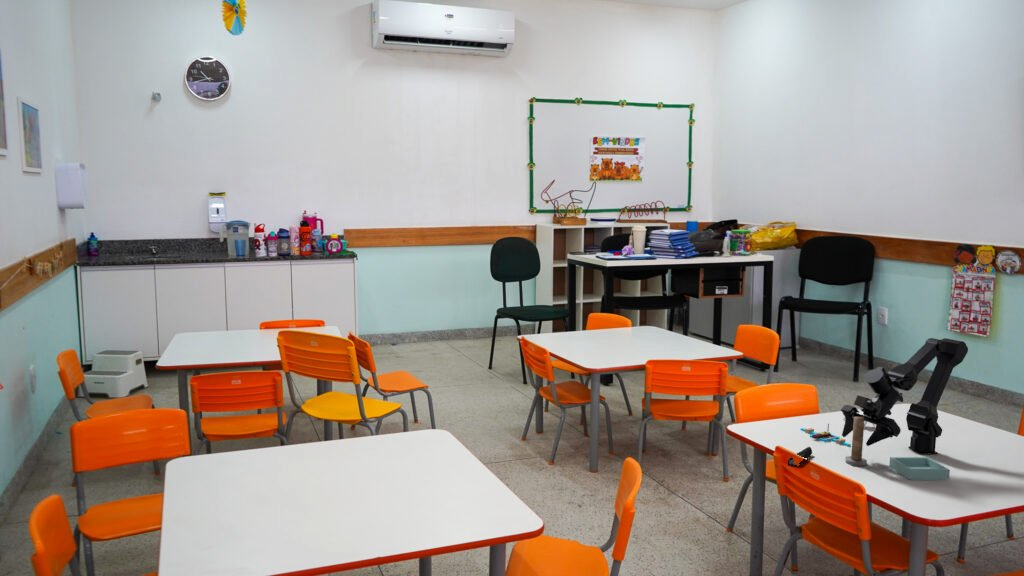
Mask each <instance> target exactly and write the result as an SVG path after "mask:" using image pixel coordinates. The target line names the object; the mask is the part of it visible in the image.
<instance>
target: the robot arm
mask: <svg viewBox="0 0 1024 576" xmlns="http://www.w3.org/2000/svg"><path fill="white" fill-rule="evenodd" d="M968 352H969V347H968V346H967V344H966V342H965V341H962V340H959V339H952V338H947V337H944V338H941V339H938V338H935V337H933V338H932V337H930V338H928V339H926V340H925V343H924V344H923V345H922V346H921V347H920V348H919V349H918V350H917V351H916V352H915V353H914V354H913V355H912V356H911V357H910V358H909V359H908V360H907V361H906V362H904V363H902V364H900V365H897V366H895V367H893V368H892V369H890V370H889V371H888V372H887V371H886V369H885V367H883V366H882V367H881V366H877V368H873V369H871V370H869V371H867V372H866V373H865V375H864V377H863V378H864V380H865V382H866V383H867V385H868V386H869V388H870V389H871V390H872V392H873V393H874V394H876V395H875V396H874V397H870V398H869V397H866V396H862V395H858V394H857V396H856V398H855V400H854V402H853V405H855V406H857V407H859V410H860V411H861V412H863V414H862V413H860V412H859V410H858V408H857V407H855V406H852V405H849V404H844V405H843V406H842V407H841V409H840V411H841V412H842V414H843V416H844V417H845V421H844V426H843V430H842V433H841V436H842V437H843V438H846V437H847V436H848V435H849V434H850V433H851V432H853V423H854V417H863V418H864V421H866V422H867V423H870V424H872V425H873V424H874V425H875V429H874V431H873V432H872V434H870V436H869V437H868V438H867V441H866V442H865V445H866V446H867V447H869V446H871V445H874V444H876V443H879V442H881V441H884V440H886V439H889V438H893V437H896V438H897V437H898V436H899V435H900V434H901V432H902V431H901V427H900V426H899V424H898V423H897V422H896V420H895V419H894V418H890V417H888V416H891V415H892V411H891V410H892V408H893V407H894V406H895V405H896V403H897V402H901V403H903V402H904V397H903V393H902V392H899V390H901V391H906V392H909V391H910V390H912V388H913V387H914V386H915V385H916V383H917V382H918V376H919V374H920V373H921V372H922V371H923V370H924V369H925V368H926V367H927V366H928V365H929V364H930V363H931V362H932V361H933V360H934V359H935V358H936V361H937V362H936V364H935V366H934V368H933V371H932V374H931V376H930V377H929V379H928V380H929V381H928V382H927V384H926V388H925V389H924V392H923V394H922V396H921V398H920V401H918V402H917V403H914V402H912V403H911V404H910V405H909V406H910V407H909V409H908V411H907V412H906V418H905V419H906V420H905V421H906V425H907V430H908V431H911V432H912V435H911V436H910V440H909V441H910V443H909V444H910V445H909V446H908V449H909V450H911V451H913V452H914V453H916V454H918V455H939V452H938V451H936V445H937V444H936V443H937V442H936V441H937V438H939V437H941V436H942V433H943V428H942V427H941V425H940V424H939V423H938V421H939V413H938V405H939V402H940V401H941V398H942V396H943V393H944V390H945V389H946V386H947V383H948V382H949V380H950V377H951V375H952V372H953V370H954V368H956V367H957V366H958V365H960V364H962V363H963V362H964V359H965V358H966V356H967V354H968Z"/></svg>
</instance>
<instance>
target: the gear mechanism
mask: <svg viewBox="0 0 1024 576" xmlns="http://www.w3.org/2000/svg"><path fill="white" fill-rule="evenodd" d="M829 429H830V423H829V422H828V423H827V430H825V431H820V432H816V431H815V428H812V427H810V428H803V427H802V428H801V427H800V431H802V432H804V433H805V434H809V437H810V438H811V439H815V440H817V441H820V442H823V443H829V442H834V443H835V444H837V445H842V446H845V447H852V443H851V444H850V443H848V442H846V439H845V438H841V437H840V436H838V435H835V434H832V433H831V431H829Z"/></svg>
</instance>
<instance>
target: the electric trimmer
mask: <svg viewBox="0 0 1024 576" xmlns="http://www.w3.org/2000/svg"><path fill="white" fill-rule="evenodd" d="M796 454H797V455H799V456H801V457H804V458H807V459H808V460H809V459H810V457H811V456H812V454H813V450H812V447H810V446H807V447H806V448H804V449H803V450H800V451H799V452H796ZM787 466H789V467H793V468H799V467H798V466H797V465H796V464H795V463H794V460H793V458H791V457H789V458H788V460H787Z"/></svg>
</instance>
